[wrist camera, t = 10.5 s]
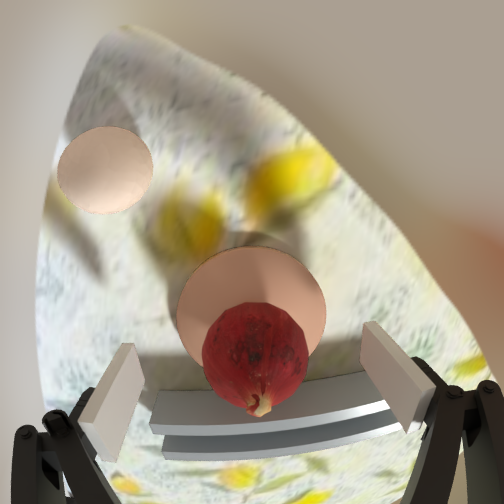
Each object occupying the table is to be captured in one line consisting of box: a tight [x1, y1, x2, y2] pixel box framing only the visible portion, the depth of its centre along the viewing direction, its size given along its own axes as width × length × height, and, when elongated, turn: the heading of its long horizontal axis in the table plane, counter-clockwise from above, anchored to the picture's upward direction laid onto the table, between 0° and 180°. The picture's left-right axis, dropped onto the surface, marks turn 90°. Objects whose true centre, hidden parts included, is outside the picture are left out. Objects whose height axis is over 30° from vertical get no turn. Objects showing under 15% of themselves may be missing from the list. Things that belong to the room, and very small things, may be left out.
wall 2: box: [149, 371, 390, 436], centre depth 20 cm, size 20×1×4 cm, turn 94°
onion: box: [201, 302, 309, 417], centre depth 15 cm, size 6×6×8 cm
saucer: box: [176, 246, 326, 367], centre depth 19 cm, size 10×10×1 cm
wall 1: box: [161, 408, 402, 461], centre depth 21 cm, size 20×1×4 cm, turn 94°
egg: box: [58, 126, 153, 214], centre depth 14 cm, size 5×5×7 cm
